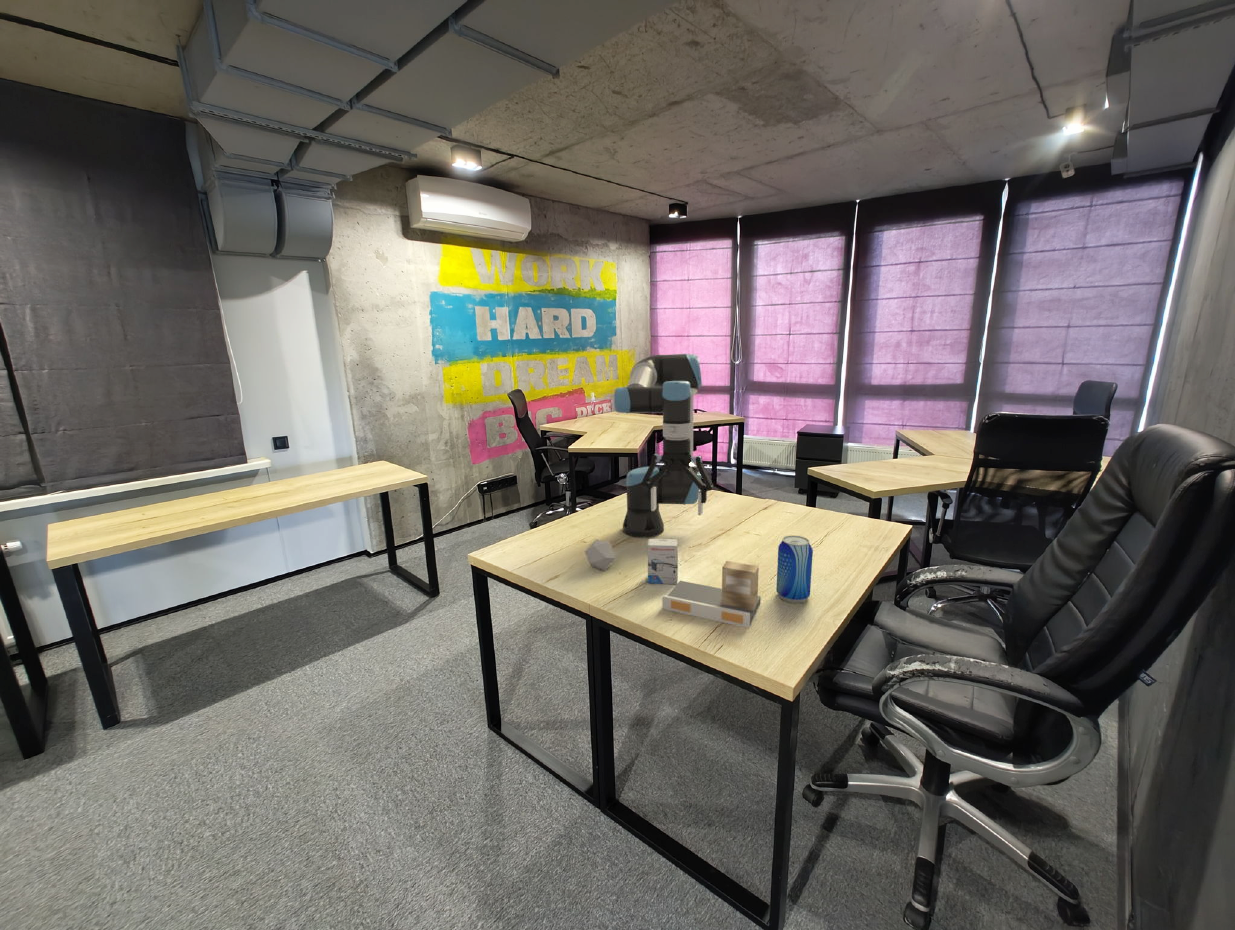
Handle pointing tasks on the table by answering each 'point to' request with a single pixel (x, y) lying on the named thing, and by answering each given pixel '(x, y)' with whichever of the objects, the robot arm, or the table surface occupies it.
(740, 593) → the brown cardboard box
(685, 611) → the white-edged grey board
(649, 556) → the ink box
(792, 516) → the table surface
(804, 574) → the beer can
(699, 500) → the robot arm
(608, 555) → the die
